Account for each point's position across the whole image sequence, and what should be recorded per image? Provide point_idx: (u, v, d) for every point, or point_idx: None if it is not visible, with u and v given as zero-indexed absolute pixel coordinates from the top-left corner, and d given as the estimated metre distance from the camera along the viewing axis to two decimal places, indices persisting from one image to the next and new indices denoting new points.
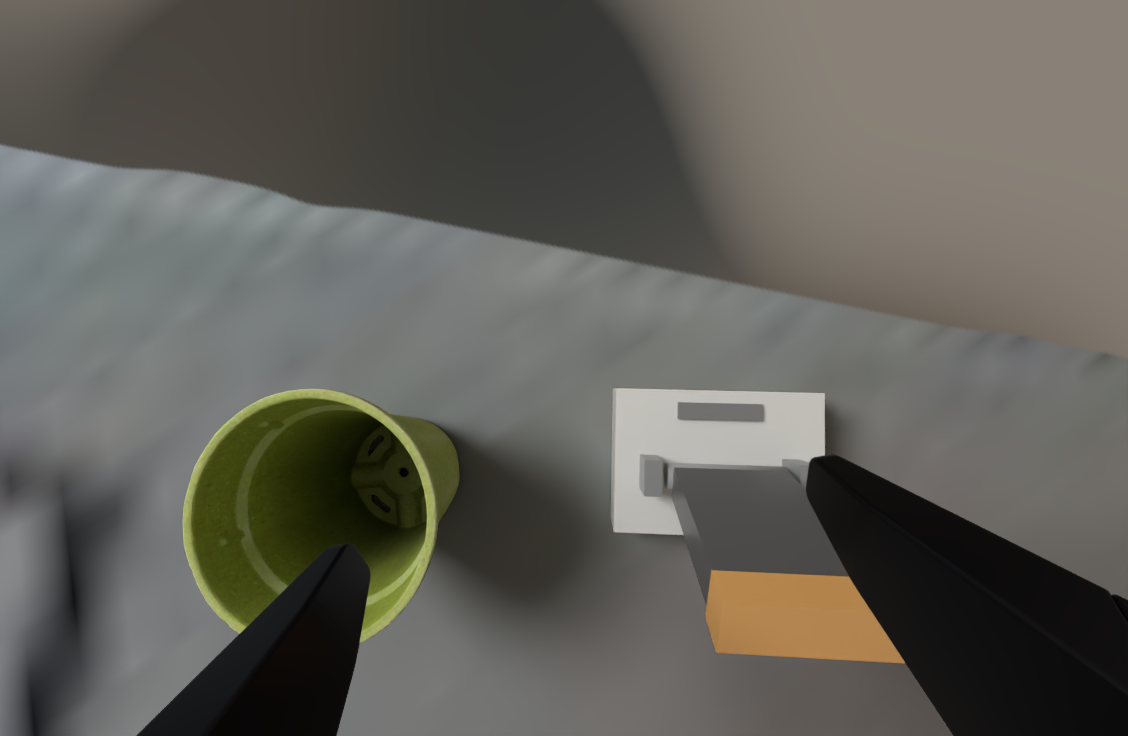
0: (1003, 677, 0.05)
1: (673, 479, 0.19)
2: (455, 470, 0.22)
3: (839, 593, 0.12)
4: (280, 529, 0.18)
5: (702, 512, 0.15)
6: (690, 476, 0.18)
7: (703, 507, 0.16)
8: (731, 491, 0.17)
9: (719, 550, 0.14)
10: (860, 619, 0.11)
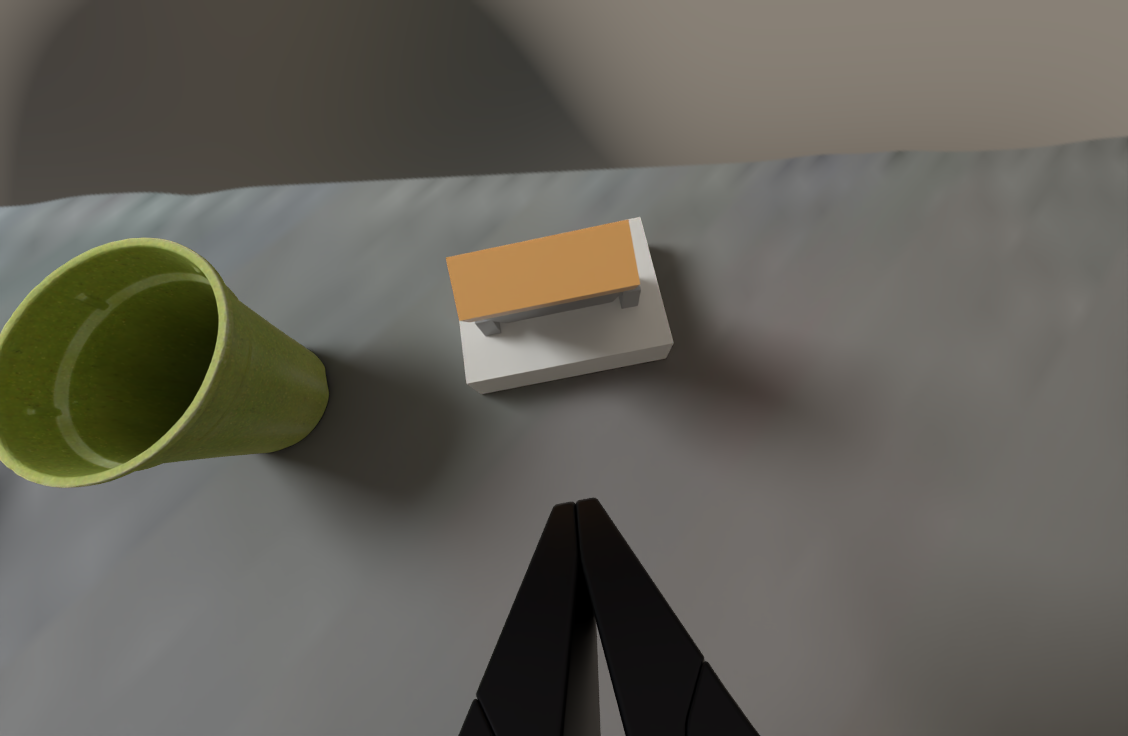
0: None
1: None
2: (314, 371, 0.22)
3: None
4: (111, 422, 0.18)
5: None
6: None
7: None
8: None
9: None
10: (576, 241, 0.11)
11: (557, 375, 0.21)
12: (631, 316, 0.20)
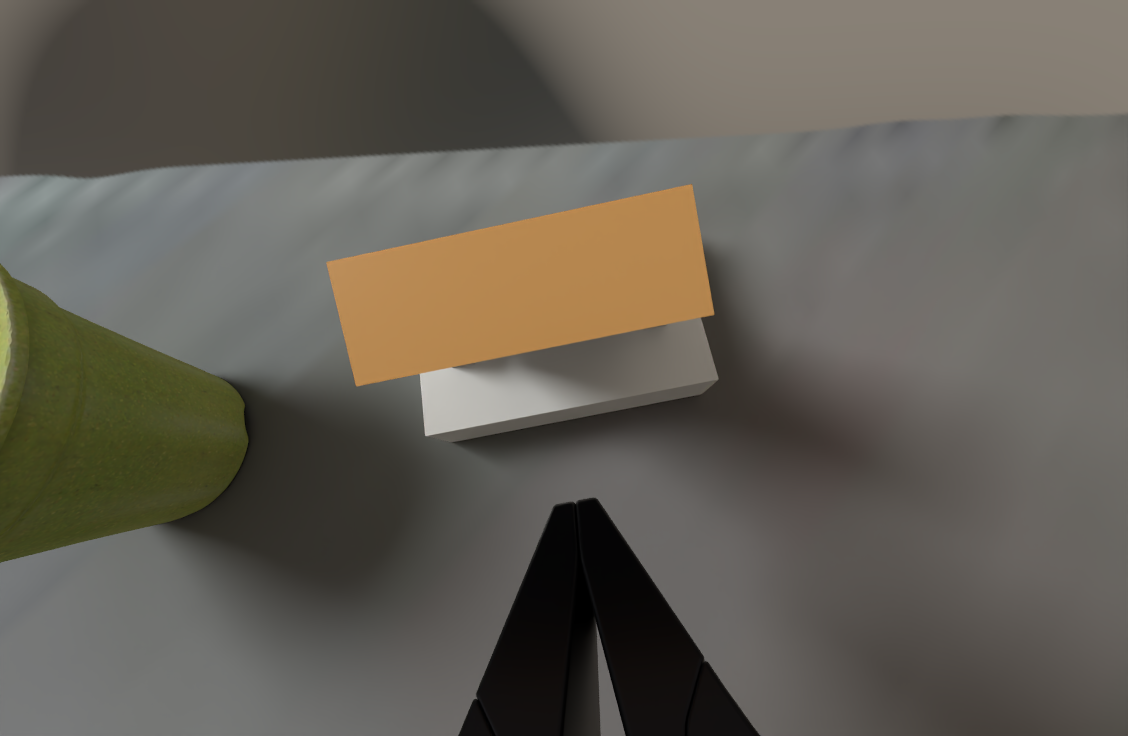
0: None
1: None
2: (222, 413, 0.16)
3: None
4: None
5: None
6: None
7: None
8: None
9: None
10: (587, 230, 0.06)
11: (553, 419, 0.16)
12: (657, 340, 0.14)
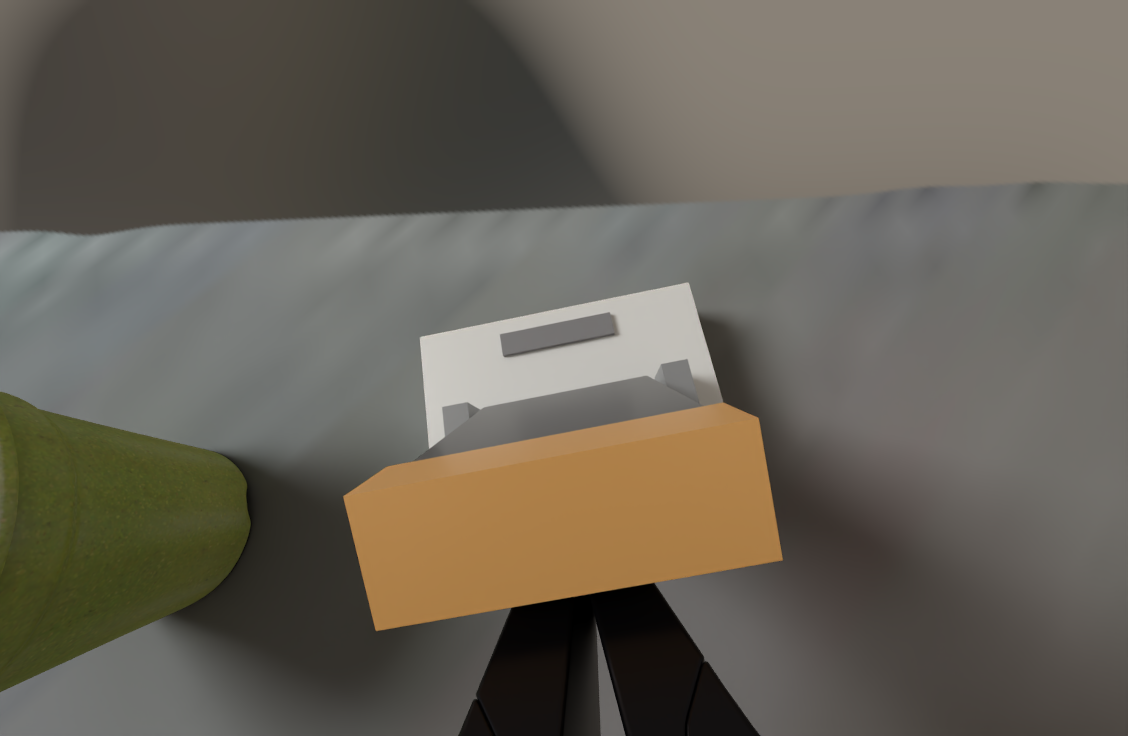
0: None
1: None
2: (224, 501, 0.15)
3: (605, 435, 0.06)
4: None
5: (471, 427, 0.09)
6: (497, 407, 0.12)
7: (479, 423, 0.10)
8: (542, 404, 0.11)
9: (445, 450, 0.07)
10: (638, 466, 0.05)
11: None
12: None
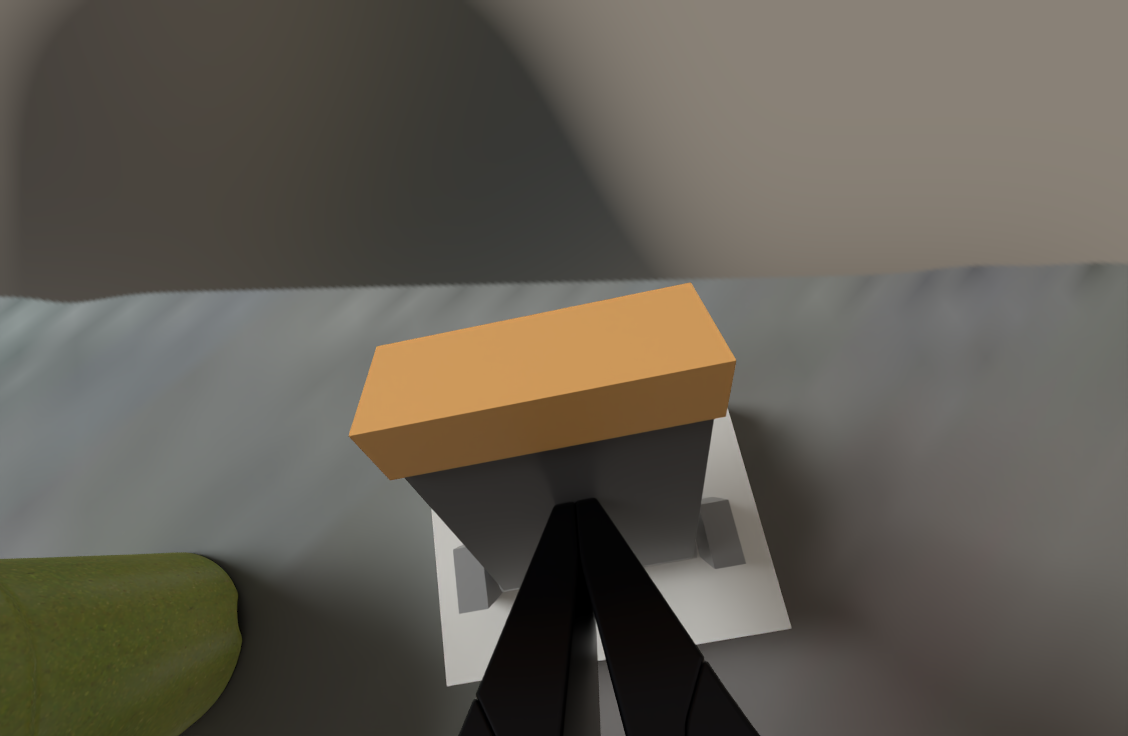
0: None
1: None
2: (212, 626, 0.14)
3: None
4: None
5: None
6: None
7: None
8: None
9: None
10: (600, 313, 0.06)
11: None
12: (717, 572, 0.12)
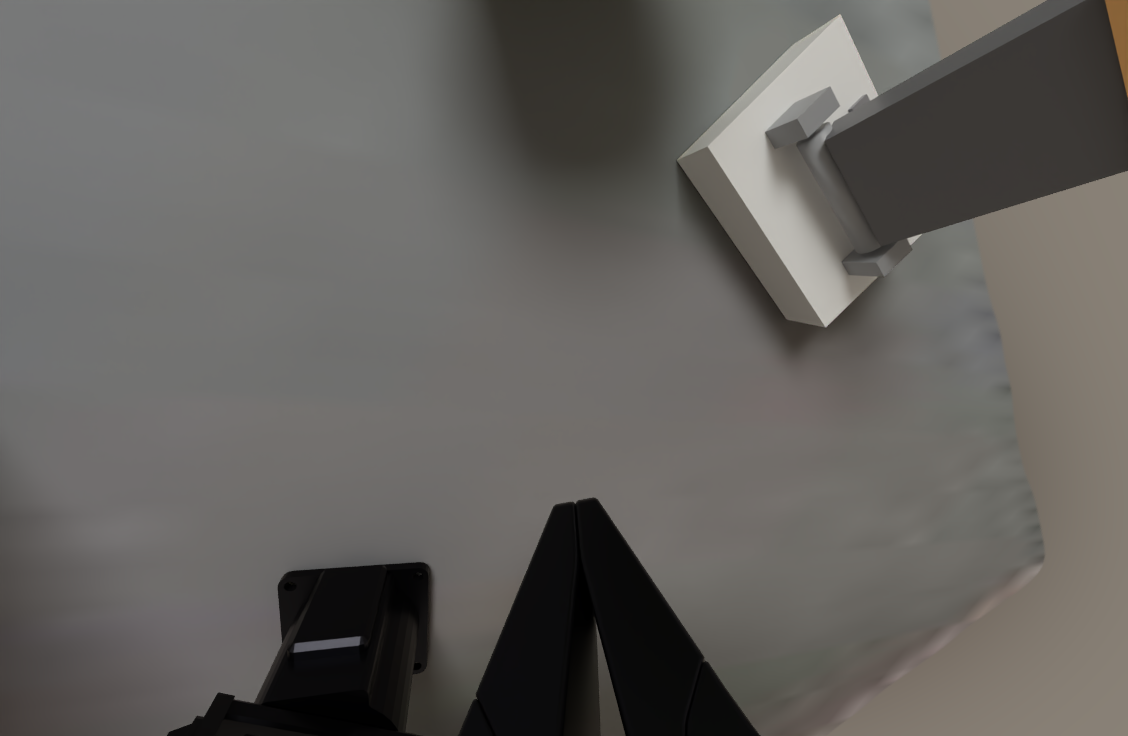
0: None
1: (830, 130, 0.15)
2: None
3: None
4: None
5: None
6: None
7: None
8: None
9: None
10: None
11: (737, 233, 0.19)
12: (837, 275, 0.19)
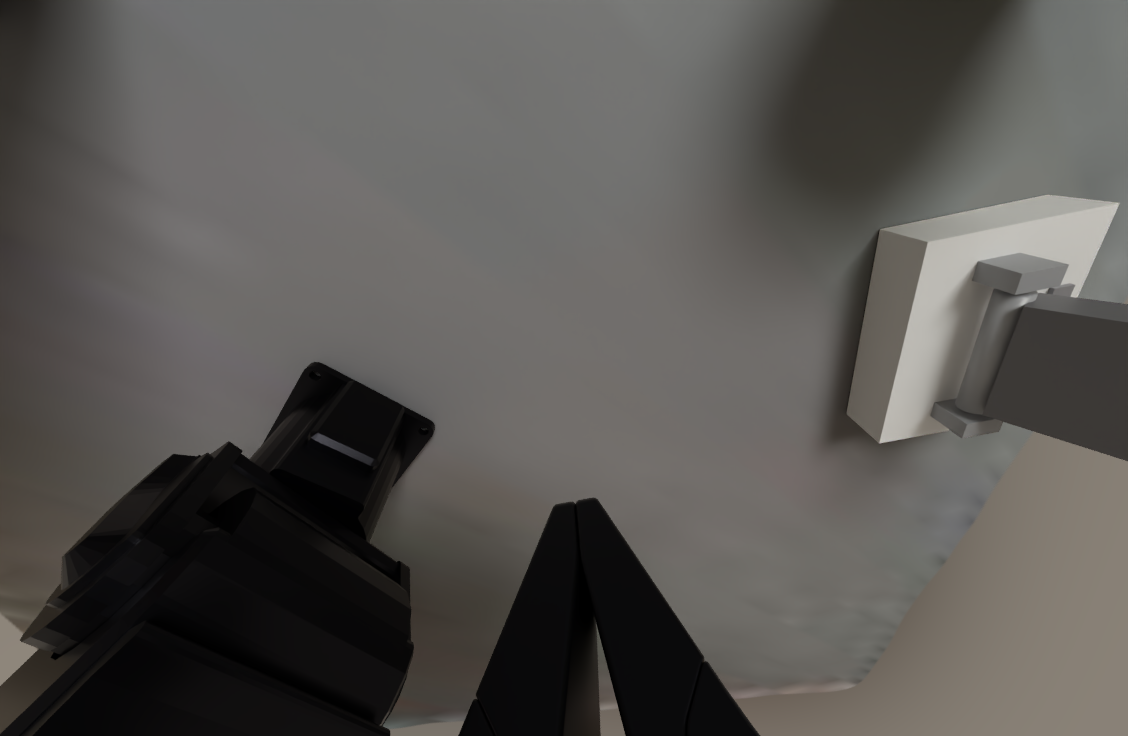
0: None
1: (1032, 299, 0.16)
2: None
3: None
4: None
5: None
6: None
7: None
8: None
9: None
10: None
11: (874, 324, 0.19)
12: (922, 410, 0.20)
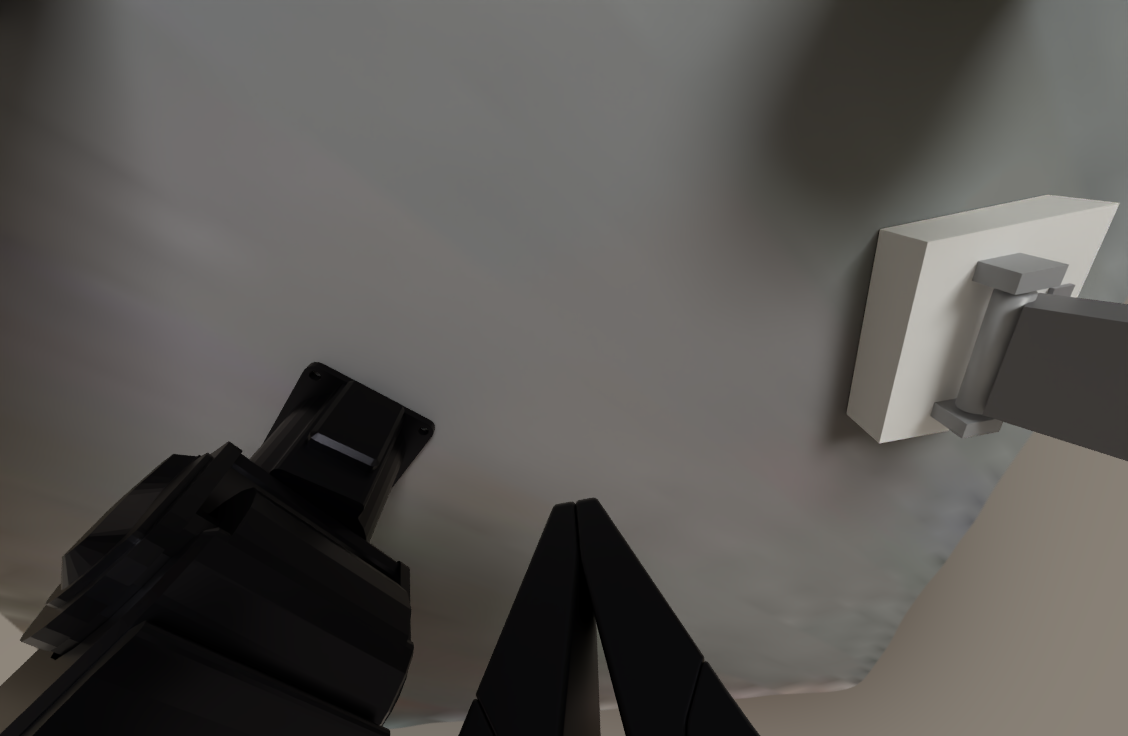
0: None
1: (1032, 299, 0.16)
2: None
3: None
4: None
5: None
6: None
7: None
8: None
9: None
10: None
11: (874, 324, 0.19)
12: (922, 410, 0.20)
